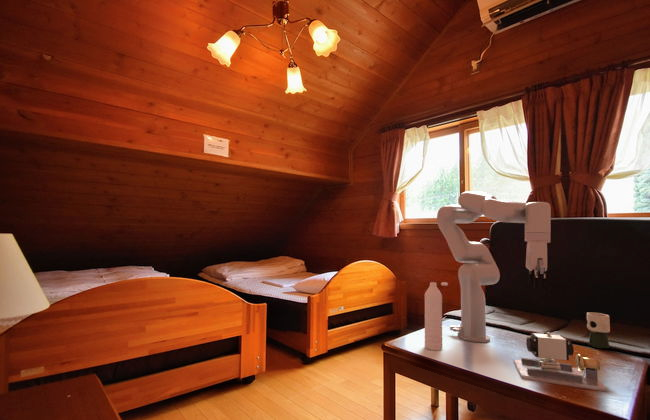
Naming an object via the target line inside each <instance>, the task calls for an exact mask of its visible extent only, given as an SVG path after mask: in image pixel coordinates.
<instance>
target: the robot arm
mask: <svg viewBox="0 0 650 420" xmlns="http://www.w3.org/2000/svg"><path fill="white" fill-rule="evenodd" d="M457 202H458V204H448V205H447V204H446V205H444V206H441V207H439V209H438V211H437V214H436V222H437V226H438V228H439V231H440V232H441V233H442V235H443V237H444V238H445V240H446V242H447V244H448V248H449V250H450V251H451V254H452V255H453V256H452V257H453V258H454V259H455V261H456V262H458V263H461V264H462V265H460V267H459V268H458V271H457V276H458V281H459V287H460V310H461V311H460V312H461V313H460V314H461V315H460V325H457V326H456V325H450V326H449V330H450V331H452V332H457V337H458V338H459V339H461V340H464V341H467V342H473V343H487V342H490V340H491V337H490V336H489V335H488V334H487V329H486V328H487V327H486V324H487V323H486V322H487V321H486V318H487V315H486V295H485V292H484V290H483V288H482V286H489V285H491V286H492V285H495V284H497V283H498V282H499V280H500V278H501V274H500V269H499V268H498V266H497V264H496V261H495V260H494V257H493V256H492V253H491V252H490V250H489V249H488V247H487V246H486V245H485V244H483V242H479V241H470V240H469V239H468V238H467V236H466V233H464V231H463V229H462V228H460V227H459V226H458V225H457V224H471V223H473V222H476V220H478V219H479V218H480V217H481V216H484V217H485V218H488V219H491V220H494V221H497V222H501V223H511V224H512V223H514V224H515V223H516V224H517V223H518V224H524V242H527V243H526V252H525V253H526V256H525V268H526V269H527V270H529V271H528V285H529V286H533V289H534V290H535V291H546V289H547V284H546V283H547V279H546V271H548V244H549V243H551V224H552V223H551V219H552V217H551V209H552V207H551V204H550V203H549V202H545V201H531V202H518V201H517V202H515V201H503V200H498V199H497V198H496V196H494V195H492V194H489V193H487V192H485V191H473V190H470V191H469V190H468V191H464V192H462V193H461V194H460V195H459V196H458V200H457Z"/></svg>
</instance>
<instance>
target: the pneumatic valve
mask: <svg viewBox="0 0 650 420" xmlns="http://www.w3.org/2000/svg"><path fill="white" fill-rule="evenodd" d="M525 343H526V348H527V350H528V352H529V353H531V354H532V355H533V356H535V357H536V358H540V360H541V361H540V362H539V366H540V369H543V370H548V371H555V372H558V371H560V370H561V366H560V364H559V363H560V362H559V363H557V362H558V361H557V360H560V361H561V360H562V361H570V357H572V356H573V355H574V352H575V350H574V349H575V348H574V345H573V343H572V342H571V340H569V339H568V338H566V337H564V336H563V335H559V334H551V332H546V333H545V334H544V333H535V332H530V335H529V336H528V337H526V340H525Z"/></svg>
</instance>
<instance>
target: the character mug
mask: <svg viewBox="0 0 650 420" xmlns="http://www.w3.org/2000/svg"><path fill="white" fill-rule="evenodd" d="M586 321H587V323H586V328H587V330H589V331H590V332H589V338H588V345H589V346H591V347H593V348H598V349H601V350H603V349H610V343H609V338H608V334H607V333H610V331H611V325H610V322H611V321H610V315H609V314H605V313H601V312H594V311H593V312H586Z"/></svg>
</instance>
